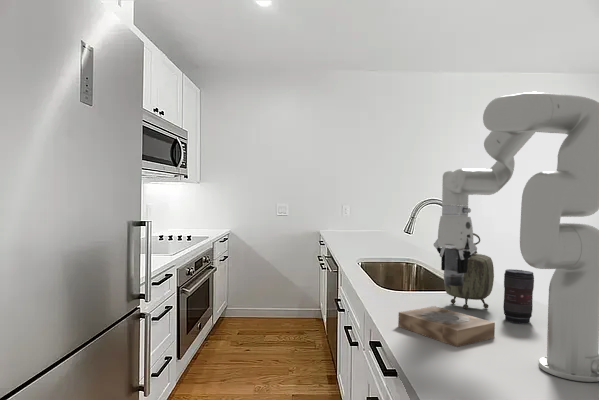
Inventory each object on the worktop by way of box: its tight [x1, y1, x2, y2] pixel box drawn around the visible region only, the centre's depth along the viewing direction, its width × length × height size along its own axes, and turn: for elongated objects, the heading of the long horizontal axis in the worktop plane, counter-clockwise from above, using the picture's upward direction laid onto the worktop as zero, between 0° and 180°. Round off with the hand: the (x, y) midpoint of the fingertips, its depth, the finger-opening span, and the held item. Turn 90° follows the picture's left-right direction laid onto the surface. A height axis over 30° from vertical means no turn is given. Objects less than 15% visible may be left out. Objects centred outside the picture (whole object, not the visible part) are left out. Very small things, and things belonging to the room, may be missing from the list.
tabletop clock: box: [443, 232, 495, 310], centre depth 156 cm, size 14×9×25 cm, turn 57°
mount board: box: [397, 305, 496, 348], centre depth 128 cm, size 20×15×4 cm
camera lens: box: [502, 268, 535, 325], centre depth 141 cm, size 8×8×15 cm
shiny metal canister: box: [443, 245, 464, 286], centre depth 142 cm, size 6×6×12 cm
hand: (454, 270), depth 142 cm, fingers closed on shiny metal canister, 5 cm apart
